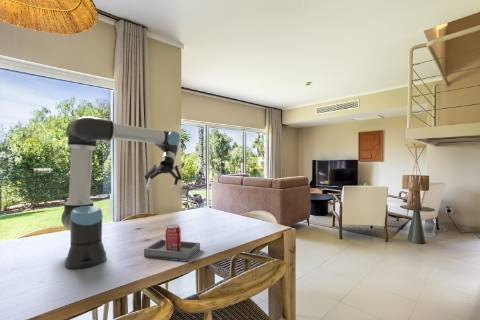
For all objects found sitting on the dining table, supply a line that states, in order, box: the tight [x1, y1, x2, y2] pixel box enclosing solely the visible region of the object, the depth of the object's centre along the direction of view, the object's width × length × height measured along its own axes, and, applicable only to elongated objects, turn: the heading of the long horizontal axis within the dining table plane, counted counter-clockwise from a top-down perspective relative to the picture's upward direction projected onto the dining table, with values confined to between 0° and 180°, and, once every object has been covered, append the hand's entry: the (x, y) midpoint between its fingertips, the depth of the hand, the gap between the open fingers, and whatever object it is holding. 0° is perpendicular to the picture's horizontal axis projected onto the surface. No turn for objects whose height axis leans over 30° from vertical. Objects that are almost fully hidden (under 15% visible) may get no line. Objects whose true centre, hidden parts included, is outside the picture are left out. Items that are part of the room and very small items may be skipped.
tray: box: [143, 238, 201, 262], centre depth 116 cm, size 22×14×4 cm, turn 77°
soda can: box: [164, 224, 182, 252], centre depth 116 cm, size 7×7×12 cm
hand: (160, 188), depth 128 cm, fingers open, 13 cm apart
